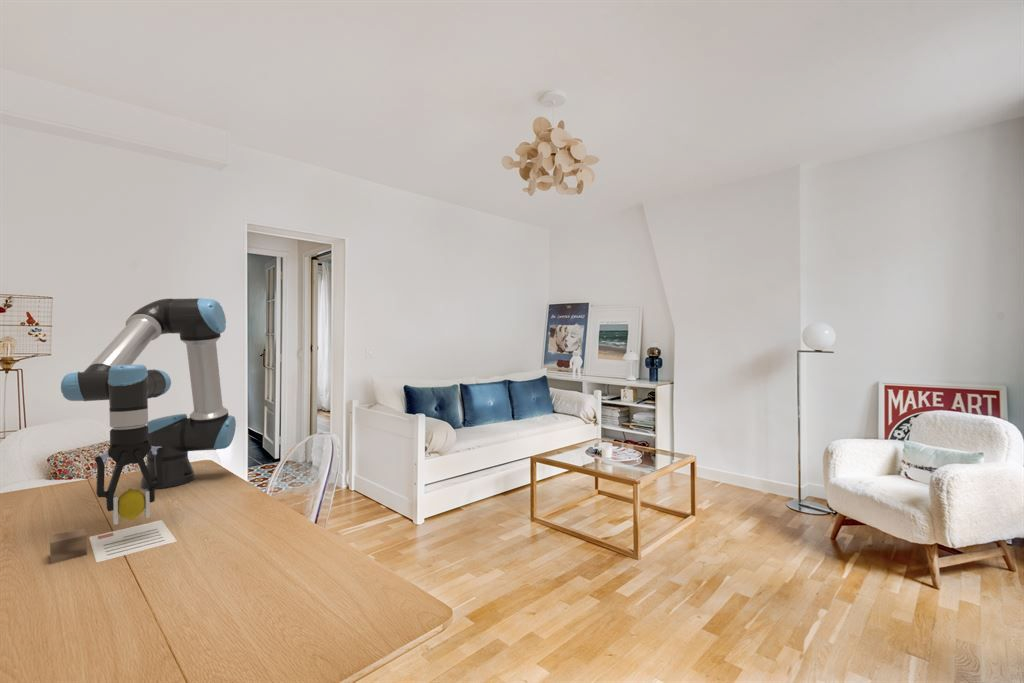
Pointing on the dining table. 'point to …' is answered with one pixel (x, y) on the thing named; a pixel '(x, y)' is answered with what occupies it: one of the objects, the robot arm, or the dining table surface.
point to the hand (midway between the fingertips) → (131, 519)
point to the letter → (130, 540)
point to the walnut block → (68, 545)
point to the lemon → (131, 504)
